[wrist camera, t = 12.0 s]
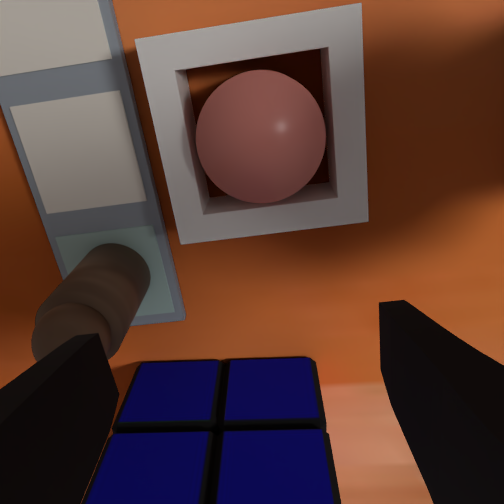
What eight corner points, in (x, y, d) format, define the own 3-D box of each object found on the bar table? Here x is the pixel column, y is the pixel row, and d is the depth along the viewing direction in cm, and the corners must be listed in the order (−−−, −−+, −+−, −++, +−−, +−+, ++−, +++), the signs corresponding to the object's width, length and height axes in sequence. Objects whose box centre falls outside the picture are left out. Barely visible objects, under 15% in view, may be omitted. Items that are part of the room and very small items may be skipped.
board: (87, -104, 16) (80, -110, 15) (186, 314, 23) (184, 321, 22) (-57, -77, 16) (-68, -82, 16) (85, 325, 23) (80, 332, 23)
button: (311, 60, 17) (320, 60, 15) (320, 176, 19) (330, 194, 17) (196, 78, 18) (183, 81, 15) (216, 190, 20) (208, 210, 17)
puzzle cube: (315, 353, 24) (348, 535, 15) (314, 479, 28) (340, 684, 19) (137, 359, 24) (60, 539, 15) (162, 482, 28) (113, 684, 19)
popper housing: (348, 10, 17) (361, 2, 15) (356, 203, 20) (368, 221, 18) (151, 42, 18) (134, 39, 15) (189, 224, 21) (180, 244, 18)
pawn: (141, 239, 20) (90, 317, 14) (157, 300, 22) (116, 396, 16) (73, 247, 21) (-8, 327, 14) (92, 307, 22) (26, 404, 16)
